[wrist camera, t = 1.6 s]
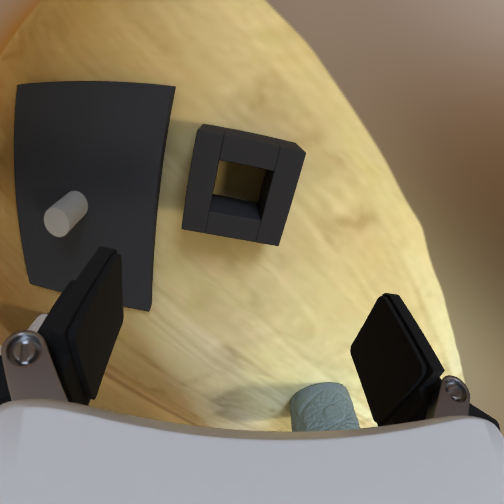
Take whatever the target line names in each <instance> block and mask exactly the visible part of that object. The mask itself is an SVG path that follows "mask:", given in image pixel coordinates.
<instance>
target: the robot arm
mask: <svg viewBox="0 0 504 504" xmlns="http://www.w3.org/2000/svg"><path fill="white" fill-rule="evenodd" d="M122 323H123V294H122V256H121V254H117V250H116V249H113V248H107V247H102V246H100V247H99V248H98V249H97V251H96V252H95V253H94V255H93V256H92V258H91V259H90V260H89V262H88V263H87V264H86V266H85V267H84V269H83V270H82V272H81V273H80V274H79V276H78V277H77V279H76V280H71V281H70V282H69V283H68V285H67V286H66V288H65V289H64V291H63V292H62V293H61V295H60V296H59V298H58V299H57V301H56V302H55V304H54V306H53V307H52V309H51V310H50V312H49V313H48V315H47V317H46V318H45V320H44V321H43V323H42V325H41V326H40V328H39V330H38V331H37V332H35V331H32V330H21V331H17V332H15V333H13V334H11V335H10V336H9V337H8V338H7V339H6V340H5V342H4V343H3V346H2V353H1V354H2V355H0V504H504V437H503V436H502V434H501V432H500V428H499V424H498V422H497V421H496V420H495V419H493V418H492V417H490V416H489V415H487V414H486V413H484V412H483V411H481V410H479V409H478V408H476V407H475V406H473V405H472V404H470V393H469V390H468V388H467V387H466V385H465V384H464V383H463V381H461V380H460V379H459V378H457V377H455V376H450V375H449V376H445V377H444V378H443V379H442V380H441V379H440V376H441V375H442V373H443V372H444V371H445V370H444V368H443V367H442V365H441V363H440V361H439V359H438V358H437V356H436V354H435V353H434V351H433V349H432V347H431V346H430V344H429V342H428V341H427V339H426V337H425V336H424V334H423V332H422V331H421V329H420V327H419V326H418V324H417V323H416V321H415V319H414V318H413V316H412V315H411V313H410V311H409V310H408V308H407V307H406V305H405V304H404V302H403V301H402V299H401V298H400V296H399V295H397V294H389V293H384V294H383V295H382V296H380V297H379V298H378V299H377V301H376V303H375V305H374V307H373V308H372V310H371V312H370V314H369V316H368V318H367V319H366V321H365V323H364V325H363V326H362V328H361V330H360V332H359V333H358V335H357V337H356V338H355V340H354V342H353V344H352V345H351V350H350V352H351V356H352V359H353V361H354V364H355V367H356V370H357V373H358V375H359V378H360V381H361V384H362V387H363V390H364V393H365V396H366V399H367V402H368V404H369V407H370V410H371V414H372V417H373V419H374V421H375V422H377V424H378V427H371V428H361V429H349V430H334V431H310V432H271V431H248V430H232V429H220V428H210V427H201V426H193V425H186V424H179V423H173V422H167V421H161V420H155V419H149V418H143V417H138V416H133V415H128V414H124V413H119V412H115V411H110V410H106V409H101V408H97V407H92V406H88V405H89V402H90V399H93V400H94V399H95V398H96V396H97V393H98V390H99V387H100V384H101V381H102V378H103V375H104V372H105V369H106V366H107V363H108V361H109V358H110V355H111V352H112V349H113V347H114V344H115V341H116V339H117V336H118V334H119V331H120V328H121V326H122Z"/></svg>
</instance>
